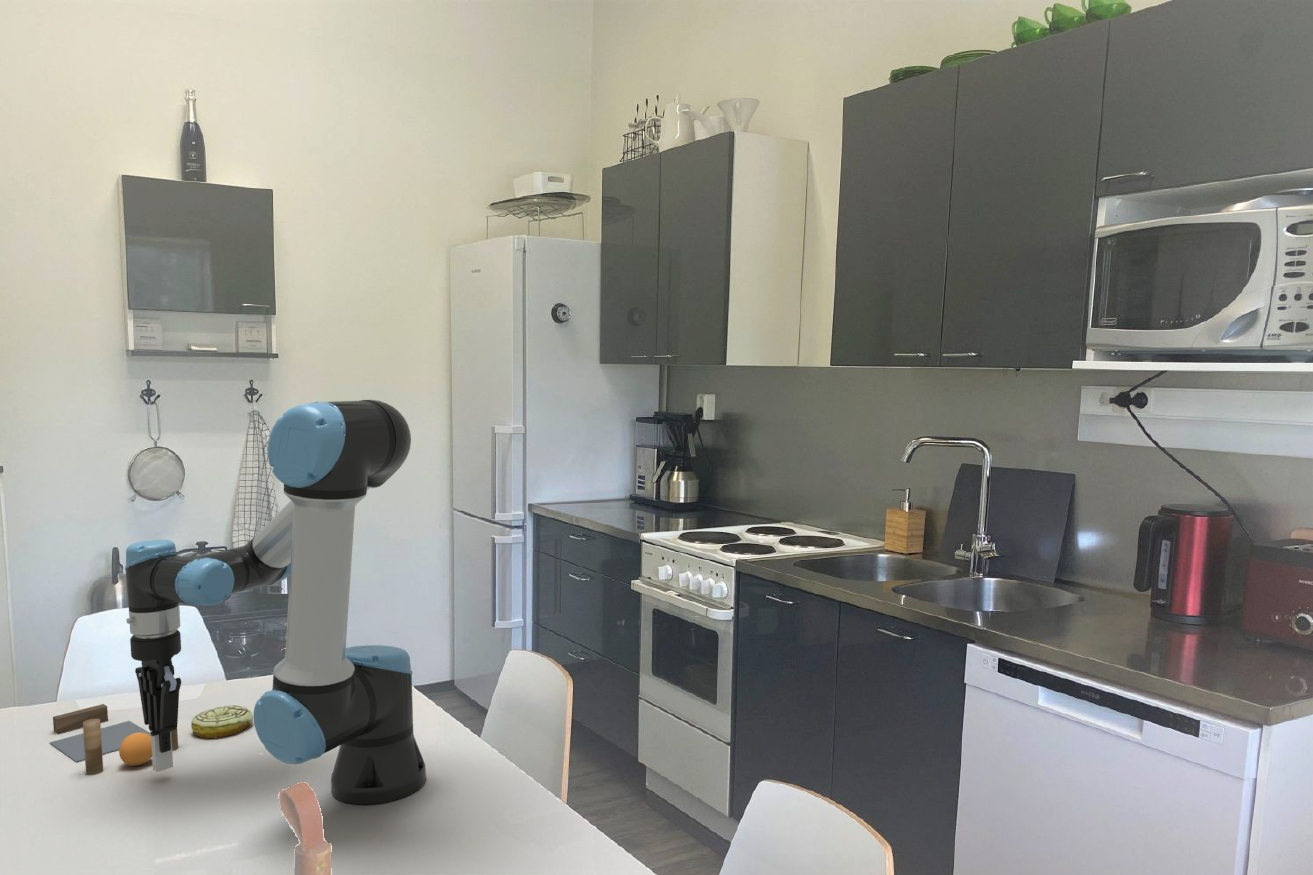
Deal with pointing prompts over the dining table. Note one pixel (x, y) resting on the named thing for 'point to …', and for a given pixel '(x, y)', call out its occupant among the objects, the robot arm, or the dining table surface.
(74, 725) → the stopper wall
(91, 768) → the left post
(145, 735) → the ball
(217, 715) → the decorated donut
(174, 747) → the right post
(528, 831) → the dining table surface
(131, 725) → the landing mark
